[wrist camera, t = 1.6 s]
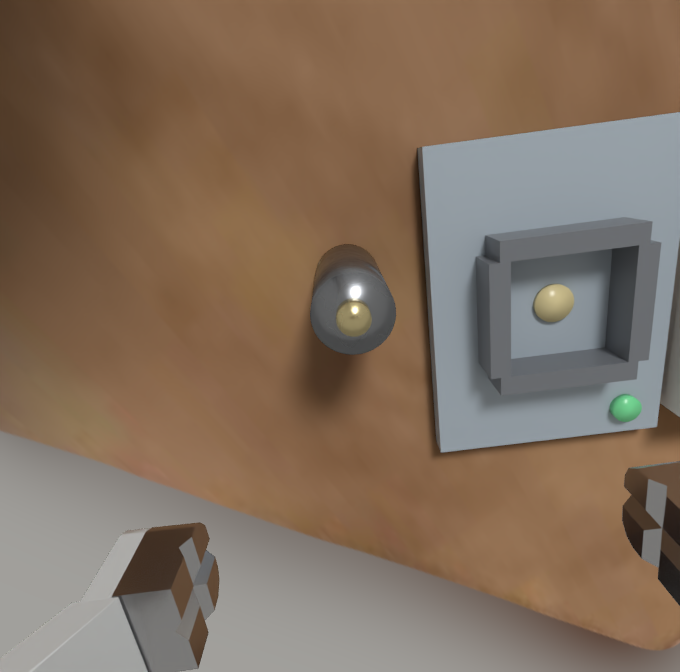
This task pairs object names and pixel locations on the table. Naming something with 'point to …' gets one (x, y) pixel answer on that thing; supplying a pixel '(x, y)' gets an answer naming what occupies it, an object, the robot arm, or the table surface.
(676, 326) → the tray
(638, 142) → the tester cradle
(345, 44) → the table surface
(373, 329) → the cell
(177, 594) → the robot arm
